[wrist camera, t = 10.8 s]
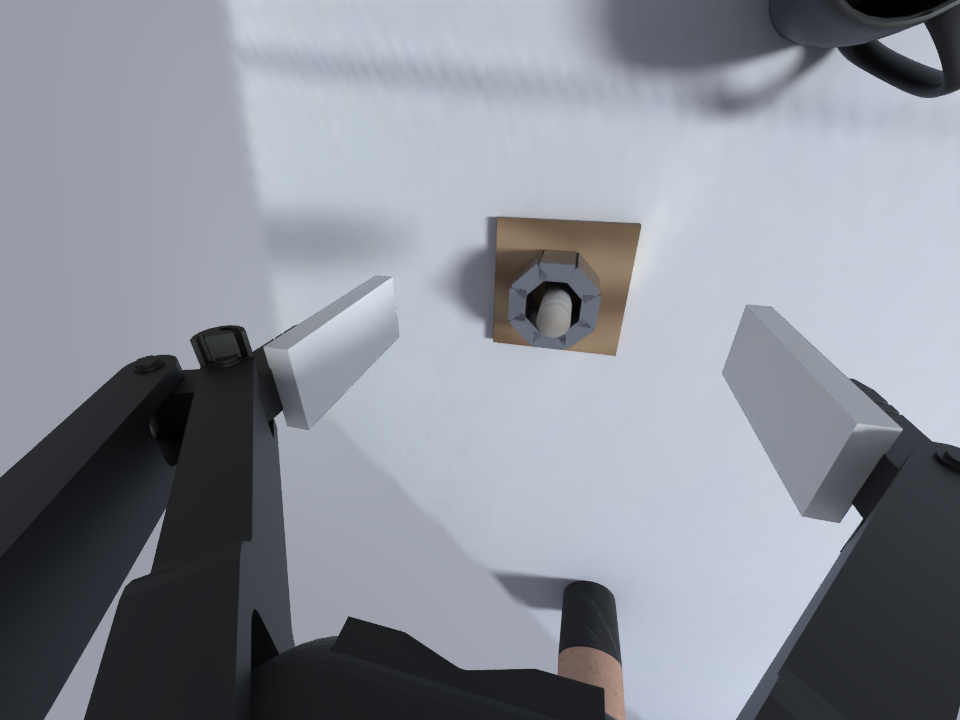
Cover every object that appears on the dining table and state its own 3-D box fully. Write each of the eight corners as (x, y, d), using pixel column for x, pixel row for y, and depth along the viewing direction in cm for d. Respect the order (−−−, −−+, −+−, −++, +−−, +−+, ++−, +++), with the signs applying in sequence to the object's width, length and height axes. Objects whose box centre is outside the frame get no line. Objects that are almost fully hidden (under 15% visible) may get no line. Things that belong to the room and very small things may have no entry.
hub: (520, 247, 35) (511, 260, 31) (603, 252, 34) (605, 267, 29) (515, 322, 39) (506, 343, 34) (590, 329, 37) (591, 353, 33)
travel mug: (593, 573, 54) (597, 770, 36) (628, 605, 55) (648, 811, 38) (550, 589, 57) (536, 775, 40) (584, 619, 59) (585, 812, 41)
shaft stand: (499, 216, 35) (475, 234, 28) (639, 223, 33) (656, 244, 25) (495, 337, 41) (474, 380, 33) (614, 351, 39) (622, 400, 31)
